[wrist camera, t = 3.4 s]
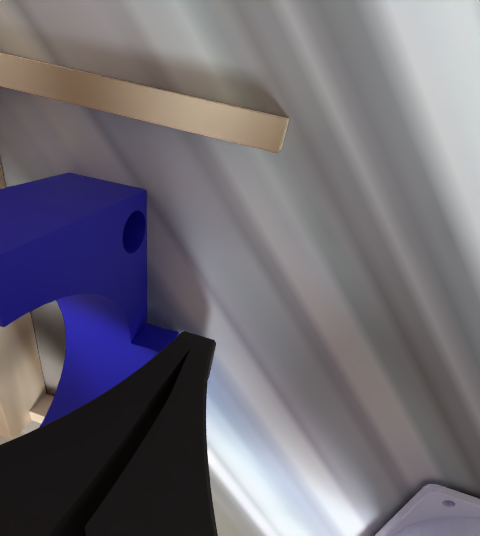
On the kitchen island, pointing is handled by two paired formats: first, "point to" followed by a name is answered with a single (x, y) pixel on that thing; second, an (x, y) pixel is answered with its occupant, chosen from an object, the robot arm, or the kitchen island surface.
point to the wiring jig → (129, 105)
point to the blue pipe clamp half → (81, 277)
